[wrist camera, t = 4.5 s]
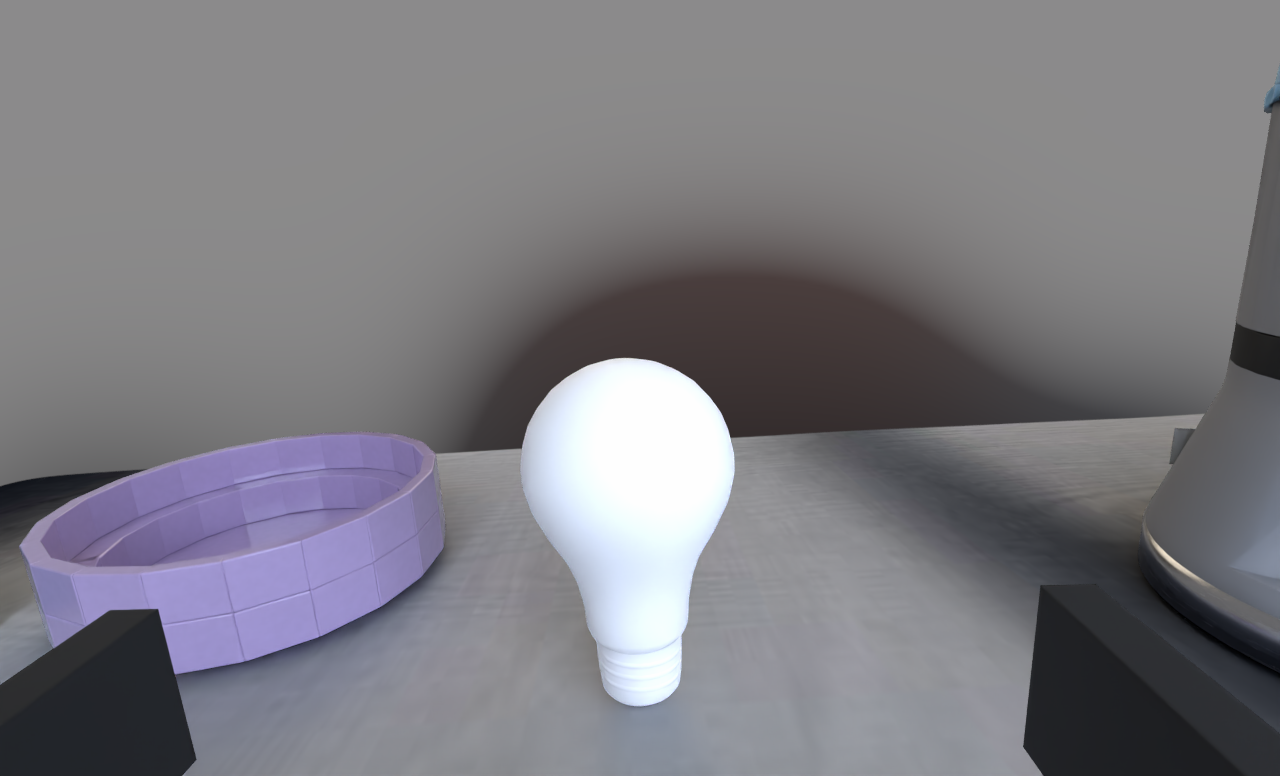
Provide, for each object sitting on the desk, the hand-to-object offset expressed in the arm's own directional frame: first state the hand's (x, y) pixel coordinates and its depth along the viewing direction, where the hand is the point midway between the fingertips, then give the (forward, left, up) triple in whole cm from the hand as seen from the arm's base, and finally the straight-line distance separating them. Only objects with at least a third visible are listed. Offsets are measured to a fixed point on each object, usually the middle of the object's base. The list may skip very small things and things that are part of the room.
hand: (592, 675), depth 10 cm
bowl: (+22, -11, -8) cm, 26 cm away
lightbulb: (+3, -9, -8) cm, 12 cm away
